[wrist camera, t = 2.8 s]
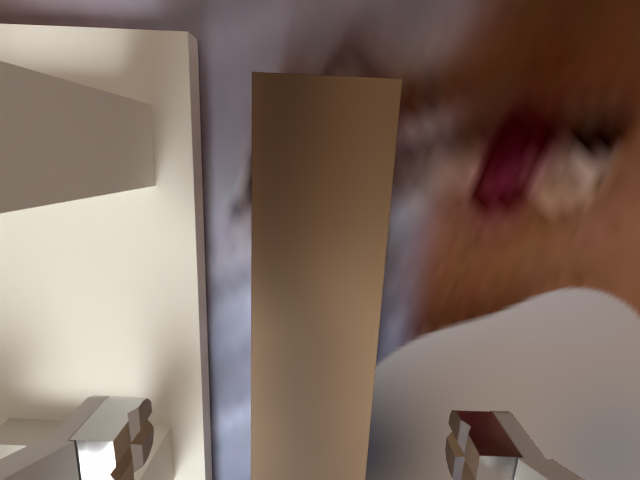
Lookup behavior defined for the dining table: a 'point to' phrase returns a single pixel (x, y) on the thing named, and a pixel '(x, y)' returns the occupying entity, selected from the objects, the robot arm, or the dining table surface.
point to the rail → (317, 268)
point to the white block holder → (103, 236)
